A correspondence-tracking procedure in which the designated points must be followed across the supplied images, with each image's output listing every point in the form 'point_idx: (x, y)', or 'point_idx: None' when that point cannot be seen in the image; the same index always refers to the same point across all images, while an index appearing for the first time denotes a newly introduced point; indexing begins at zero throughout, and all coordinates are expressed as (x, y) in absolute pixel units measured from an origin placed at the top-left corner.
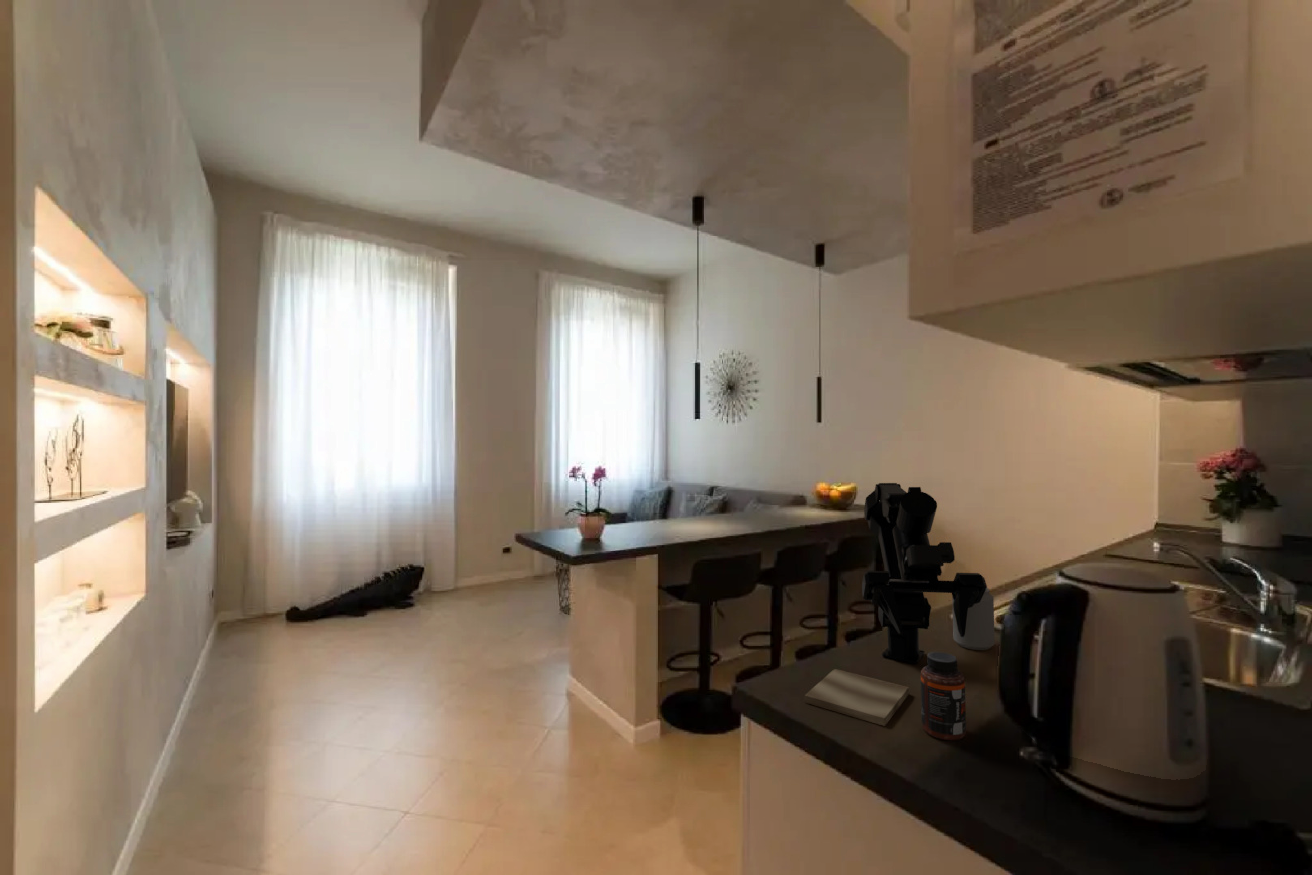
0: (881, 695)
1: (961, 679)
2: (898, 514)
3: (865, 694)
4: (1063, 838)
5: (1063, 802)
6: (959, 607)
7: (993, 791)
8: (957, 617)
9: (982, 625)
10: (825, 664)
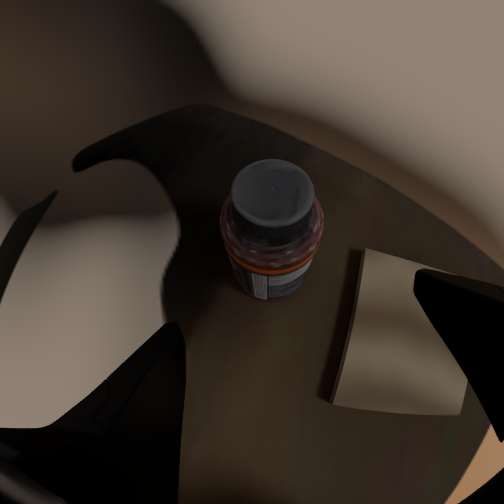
0: (382, 338)
1: (229, 195)
2: None
3: (408, 329)
4: (183, 121)
5: (160, 162)
6: (127, 403)
7: (224, 153)
8: (168, 426)
9: None
10: (463, 447)
